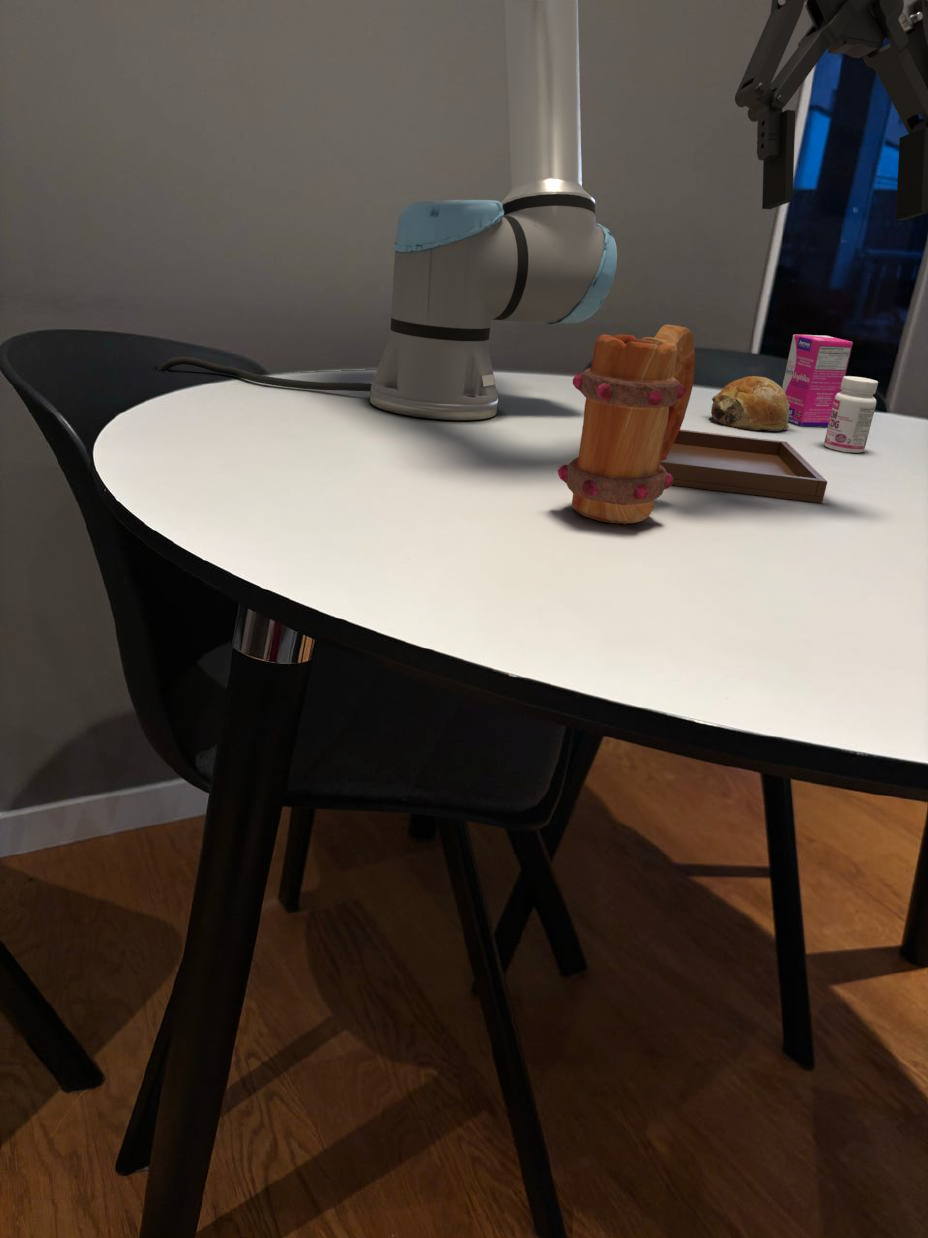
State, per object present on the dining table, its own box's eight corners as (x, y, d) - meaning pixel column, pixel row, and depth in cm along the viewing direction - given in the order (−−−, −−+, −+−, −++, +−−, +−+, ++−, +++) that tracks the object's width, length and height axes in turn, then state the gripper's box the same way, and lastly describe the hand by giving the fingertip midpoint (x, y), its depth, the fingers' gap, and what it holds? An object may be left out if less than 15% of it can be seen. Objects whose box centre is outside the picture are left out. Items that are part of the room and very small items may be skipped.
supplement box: (773, 417, 137) (792, 332, 132) (808, 418, 139) (827, 335, 134) (799, 426, 132) (819, 338, 127) (835, 427, 134) (856, 341, 129)
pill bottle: (814, 444, 120) (831, 374, 117) (841, 443, 123) (858, 375, 119) (845, 453, 116) (862, 382, 113) (872, 453, 119) (890, 382, 116)
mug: (625, 539, 75) (659, 336, 69) (536, 513, 79) (561, 320, 73) (704, 508, 86) (739, 331, 80) (622, 487, 90) (650, 318, 84)
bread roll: (776, 461, 126) (815, 408, 123) (712, 420, 124) (750, 364, 122) (756, 445, 135) (792, 394, 133) (695, 406, 133) (731, 354, 131)
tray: (603, 476, 93) (607, 455, 92) (598, 438, 110) (601, 419, 110) (822, 503, 92) (827, 481, 91) (782, 460, 109) (786, 441, 108)
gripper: (754, -139, 68) (746, 186, 71) (1019, -77, 76) (1001, 210, 80) (692, -83, 75) (688, 211, 78) (941, -32, 83) (928, 230, 87)
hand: (846, 211), depth 79 cm, fingers open, 13 cm apart
